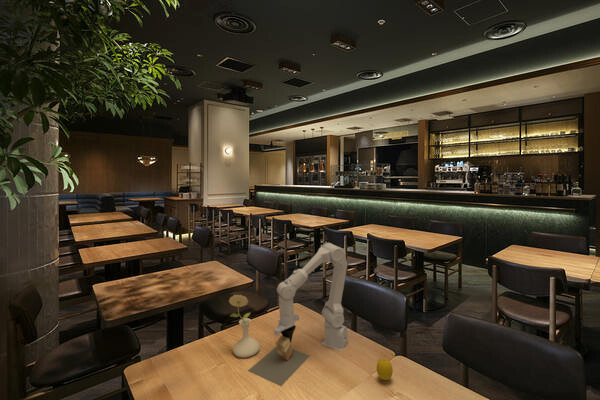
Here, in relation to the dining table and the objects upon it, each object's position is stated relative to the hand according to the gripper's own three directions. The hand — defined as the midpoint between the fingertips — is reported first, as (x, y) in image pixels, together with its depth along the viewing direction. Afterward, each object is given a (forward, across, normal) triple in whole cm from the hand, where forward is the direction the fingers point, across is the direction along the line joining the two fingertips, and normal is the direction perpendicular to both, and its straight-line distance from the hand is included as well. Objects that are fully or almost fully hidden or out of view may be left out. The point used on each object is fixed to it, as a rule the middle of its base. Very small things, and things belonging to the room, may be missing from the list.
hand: (287, 343), depth 120 cm
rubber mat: (+6, +6, 0) cm, 8 cm away
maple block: (+4, +1, 0) cm, 5 cm away
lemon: (+6, -6, +38) cm, 39 cm away
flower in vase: (+6, +7, -18) cm, 20 cm away
